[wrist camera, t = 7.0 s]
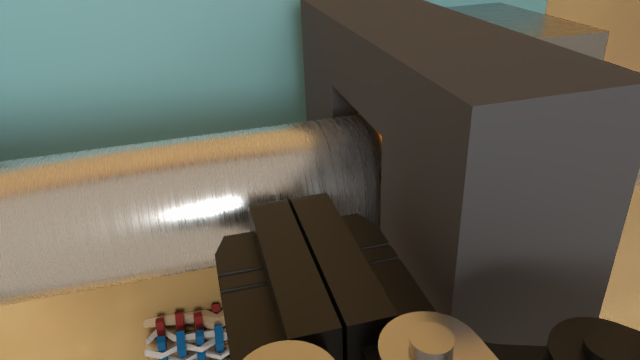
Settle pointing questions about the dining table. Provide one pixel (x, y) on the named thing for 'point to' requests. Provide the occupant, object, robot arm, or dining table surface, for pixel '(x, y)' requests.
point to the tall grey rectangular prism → (484, 156)
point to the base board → (150, 70)
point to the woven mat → (188, 336)
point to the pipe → (197, 188)
